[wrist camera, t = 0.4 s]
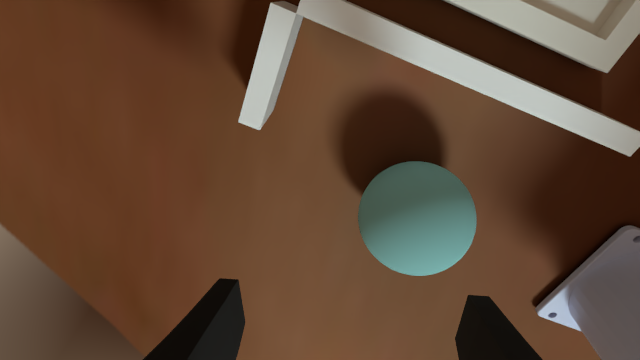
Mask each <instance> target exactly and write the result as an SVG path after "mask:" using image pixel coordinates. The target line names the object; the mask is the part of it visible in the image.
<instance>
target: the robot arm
mask: <svg viewBox="0 0 640 360" xmlns="http://www.w3.org/2000/svg"><path fill="white" fill-rule="evenodd" d="M636 236H637V237H636ZM535 310H536V312H537V314H538V316H540V317H543V318H545V319H548V320H551V321H554V322H557V323H560V324H562V325H565V326H568V327H571V328H574V329H576V330H579V331H582V332H583V334H584V335H585V336H586V338H587V339H588V341H589V342H590V344H591V345H592V347H593V348H594V350H595V351H596V353H597V354H598V355H599V357H600V358H601V360H640V228H637V227H635V226H631V225H629V226H624V227H622V228H620V229H619V230H618V231H617V232H616V233H615V234H614V235H613V236H612V237H610V238H609V239H608V240H607V241H606V242H605V243H604V244H603V245H602V246H601V247H600V248H599V249H598V250H597V251H595V252H594V253H593V254H592V255H591V256H590V257H589V258H588V259H587V260H586V261H585V262H584V263H583V264H582V265H580V266H579V267H578V268H577V269H576V270H575V271H574V272H573V273H572V274H571V275H570V276H569V277H568V278H567V279H565V280H564V281H563V282H562V283H561V284H560V285H559V286H558V287H557V288H556V289H555V290H554V291H553V292H552V293H550V294H549V295H548V296H547V297H546V298H545V299H544V300H543V301H542V302H541V303H540V304H539V305H538V306H537V307H536V309H535ZM244 326H245V317H244V311H243V305H242V299H241V293H240V287H239V281H238V280H236V279H221V278H220V279H219V280H218V281H217V282H216V283H215V284H214V285H213V286H212V287H211V289H210V290H209V291H208V292H207V293H206V294H205V295H204V296H203V298H202V299H201V300H200V301H199V302H198V303H197V304H196V305H195V307H194V308H193V309H192V310H191V311H190V312H189V313H188V314H187V315H186V316H185V317H184V319H183V320H182V321H181V322H180V323H179V324H178V325H177V326H176V327H175V328H174V329H173V330H172V331H171V332H170V333H169V334H168V335H167V336H166V337H165V338H164V340H162V341H161V342H160V343H159V344H158V345H157V346H156V347H155V348H154V349H153V350H152V351H151V352H150V353H149V354H148V355H147V356H146V357H145V358H144V359H143V360H236V357H237V354H238V350H239V346H240V342H241V338H242V334H243V330H244ZM455 340H456V346H457V351H458V357H459V360H542V358H541V357H540V356H539V355H538V354H537V353H536V352H535V351H534V349H533V348H532V347H531V346H530V345H529V344H528V342H527V341H526V340H525V339H524V338H523V337H522V335H521V334H520V333H519V332H518V331H517V330H516V328H515V327H514V326H513V325H512V324H511V322H510V321H509V320H508V319H507V318H506V316H505V315H504V314H503V313H502V311H501V310H500V309H499V308H498V307H497V305H496V304H495V303H494V302H493V301H492V300H491V298H490V297H489V296H474V295H468V297H467V301H466V304H465V307H464V311H463V314H462V317H461V321H460V324H459V327H458V331H457V334H456V337H455Z"/></svg>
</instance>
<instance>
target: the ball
mask: <svg viewBox="0 0 640 360" xmlns="http://www.w3.org/2000/svg"><path fill="white" fill-rule="evenodd" d="M358 222H359V228H360V233H361V235H362V238H363V240H364V243H365V244H366V246H367V248H368V249H369V251H370V252H371V253H372V254H373V255H374V256H375V257H376V258H377V259H378V260H379V261H380V262H381V263H382V264H384V265H385V266H387V267H389V268H390V269H392V270H394V271H397V272H400V273H403V274H408V275H415V276H424V275H431V274H435V273H439V272H441V271H444V270H446V269H448V268H449V267H451V266H452V265H454V264H455V263H456V262H457V261H459V260H460V259H461V258H462V257H463V256H464V254H465V253H466V252H467V250H468V249H469V247H470V245H471V243H472V241H473V238H474V234H475V230H476V211H475V206H474V202H473V200H472V197H471V195H470V193H469V191H468V190H467V188H466V187H465V185H464V184H463V183H462V182H461V181H460V180H459V179H458V178H457V177H456V176H455V175H454V174H452V173H451V172H450V171H448V170H447V169H445V168H442V167H440V166H438V165H435V164H432V163H428V162H421V161H411V162H403V163H399V164H396V165H393V166H391V167H389V168H387V169H385V170H384V171H382V172H381V173H379V174H378V175H377V176H376V177H375V178H374V179H373V180H372V181H371V182H370V183H369V185H368V186H367V188H366V189H365V191H364V193H363V195H362V198H361V201H360V205H359V212H358Z"/></svg>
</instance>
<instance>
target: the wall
mask: <svg viewBox="0 0 640 360" xmlns="http://www.w3.org/2000/svg"><path fill="white" fill-rule="evenodd" d="M303 17H305V18H308V19H310V20H312V21H315V22H317V23H319V24H322V25H324V26H326V27H329V28H331V29H333V30H336V31H338V32H340V33H343V34H345V35H347V36H350V37H352V38H354V39H357V40H359V41H361V42H364V43H366V44H368V45H371V46H373V47H375V48H378V49H380V50H382V51H385V52H387V53H389V54H392V55H394V56H396V57H399V58H401V59H403V60H406V61H408V62H410V63H413V64H415V65H417V66H420V67H422V68H424V69H427V70H429V71H431V72H434V73H436V74H438V75H441V76H443V77H445V78H448V79H450V80H452V81H455V82H457V83H459V84H462V85H464V86H466V87H469V88H471V89H473V90H476V91H478V92H480V93H483V94H485V95H487V96H490V97H492V98H494V99H497V100H499V101H501V102H504V103H506V104H508V105H510V106H513V107H515V108H517V109H520V110H522V111H524V112H527V113H529V114H531V115H534V116H536V117H538V118H541V119H543V120H545V121H548V122H550V123H552V124H555V125H557V126H559V127H562V128H564V129H566V130H569V131H571V132H573V133H576V134H578V135H580V136H583V137H585V138H587V139H590V140H592V141H594V142H597V143H599V144H601V145H604V146H606V147H608V148H611V149H613V150H615V151H618V152H620V153H622V154H625V155H627V156H629V157H630V156H631V155H632V154H633V153H634V152H635V151H636V150H637V149H638V148H639V147H640V131H638V130H635V129H633V128H631V127H629V126H627V125H625V124H623V123H621V122H619V121H617V120H615V119H613V118H611V117H608V116H606V115H604V114H602V113H600V112H598V111H595V110H593V109H591V108H589V107H586V106H584V105H582V104H580V103H577V102H575V101H573V100H571V99H568V98H566V97H564V96H561V95H559V94H557V93H555V92H552V91H550V90H548V89H546V88H543V87H541V86H539V85H537V84H534V83H532V82H530V81H527V80H525V79H523V78H521V77H518V76H516V75H514V74H512V73H509V72H507V71H505V70H503V69H500V68H498V67H496V66H494V65H491V64H489V63H487V62H484V61H482V60H480V59H478V58H475V57H473V56H471V55H469V54H466V53H464V52H462V51H460V50H457V49H455V48H453V47H450V46H448V45H446V44H444V43H441V42H439V41H437V40H435V39H432V38H430V37H428V36H426V35H423V34H421V33H419V32H416V31H414V30H412V29H410V28H407V27H405V26H403V25H401V24H398V23H396V22H394V21H392V20H389V19H387V18H385V17H382V16H380V15H378V14H376V13H373V12H371V11H369V10H367V9H364V8H362V7H360V6H358V5H355V4H353V3H351V2H349V1H346V0H300V3H299V6H295V5H293V4H291V3H288V2H286V1H279V2H271V3H270V7H269V11H268V14H267V18H266V22H265V25H264V29H263V33H262V37H261V40H260V44H259V48H258V51H257V55H256V59H255V62H254V66H253V70H252V73H251V77H250V81H249V84H248V88H247V92H246V95H245V99H244V103H243V107H242V110H241V114H240V118H239V121H238V122H239V123H242V124H244V125H247V126H250V127H252V128H255V129H257V130H260V129H261V128H262V126H263V125H264V123H265V122H266V120H267V119H268V117H269V116H270V114H271V113H272V111H273V109H274V106H275V103H276V100H277V97H278V94H279V91H280V88H281V85H282V82H283V78H284V75H285V72H286V69H287V66H288V63H289V60H290V57H291V54H292V50H293V47H294V44H295V41H296V38H297V35H298V32H299V29H300V26H301V22H302V19H303Z"/></svg>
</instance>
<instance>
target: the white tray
mask: <svg viewBox="0 0 640 360" xmlns="http://www.w3.org/2000/svg"><path fill="white" fill-rule="evenodd" d="M443 1H445V2H447V3H450V4H452V5H454V6H456V7H458V8H460V9H463V10H465V11H467V12H469V13H471V14H474V15H476V16H478V17H480V18H482V19H485V20H487V21H489V22H491V23H493V24H496V25H498V26H500V27H502V28H504V29H506V30H509V31H511V32H513V33H515V34H517V35H520V36H522V37H524V38H526V39H528V40H531V41H533V42H535V43H537V44H539V45H541V46H544V47H546V48H548V49H550V50H552V51H555V52H557V53H559V54H561V55H563V56H566V57H568V58H570V59H572V60H574V61H576V62H579V63H581V64H583V65H585V66H587V67H590V68H593V69H596V70H599V71H602V72H605V73H608V72H609V71H610V69H611V68H612V67H613V66H614V64H615V63H616V62H617V61H618V59H619V58H620V57H621V56H622V54H623V53H624V52H625V51H626V49H627V48H628V47H629V46H630V44H631V43H632V42H633V41H634V39H635V38H636V37H637V36H638V34H639V33H640V0H443Z"/></svg>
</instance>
